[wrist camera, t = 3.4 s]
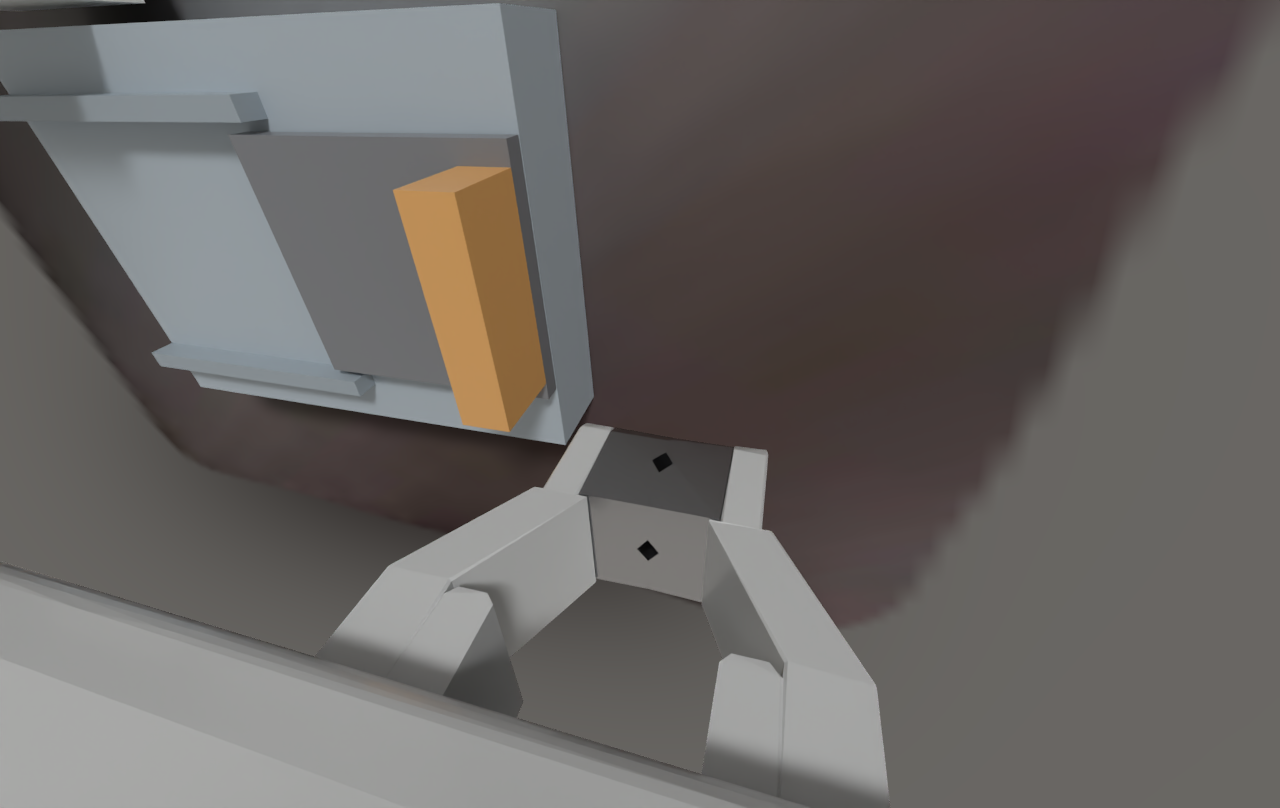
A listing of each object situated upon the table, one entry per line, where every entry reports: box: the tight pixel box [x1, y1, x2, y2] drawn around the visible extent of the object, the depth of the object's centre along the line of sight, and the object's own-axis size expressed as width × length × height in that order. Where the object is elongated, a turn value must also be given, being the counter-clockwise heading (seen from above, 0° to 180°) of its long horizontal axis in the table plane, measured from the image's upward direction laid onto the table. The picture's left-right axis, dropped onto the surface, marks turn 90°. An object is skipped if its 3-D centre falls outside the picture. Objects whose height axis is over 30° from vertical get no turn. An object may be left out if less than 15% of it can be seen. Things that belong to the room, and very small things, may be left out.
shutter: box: [228, 131, 556, 432], centre depth 13 cm, size 7×8×3 cm
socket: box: [0, 3, 594, 445], centre depth 16 cm, size 12×16×4 cm
